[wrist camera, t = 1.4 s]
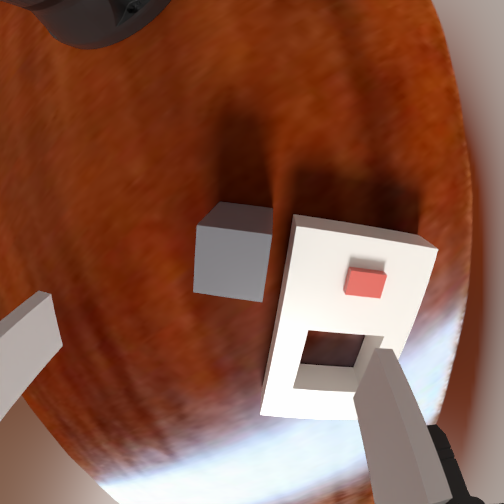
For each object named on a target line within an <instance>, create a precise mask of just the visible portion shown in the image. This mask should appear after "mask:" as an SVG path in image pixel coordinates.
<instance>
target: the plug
mask: <svg viewBox="0 0 504 504" xmlns="http://www.w3.org/2000/svg"><path fill="white" fill-rule="evenodd" d="M272 225H273V208H268V207H260V206H253V205H245V204H237V203H228V202H219V203H218V204H217V205H216V206H215V207H214V208H213V209H212V210H211V211H210V212H209V213H208V214H207V215H206V216H205V217H204V218H203V219H202V220H201V221H200V222H199V223H198V225H197V232H196V248H195V267H194V290H193V292H196V293H203V294H209V295H216V296H222V297H229V298H236V299H243V300H250V301H258V302H262V300H263V294H264V287H265V281H266V274H267V267H268V260H269V253H270V246H271V240H272Z"/></svg>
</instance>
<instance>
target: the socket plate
mask: <svg viewBox="0 0 504 504" xmlns="http://www.w3.org/2000/svg"><path fill="white" fill-rule="evenodd" d="M437 252H438V249H437V248H436V247H435V246H433V245H432V244H431V243H429V242H428V241H426V240H425V239H424V238H422V237H421V236H419V235H416V234H411V233H405V232H400V231H394V230H389V229H383V228H377V227H372V226H366V225H360V224H354V223H348V222H342V221H335V220H329V219H323V218H316V217H310V216H303V215H296V214H293V219H292V226H291V232H290V238H289V244H288V250H287V256H286V262H285V268H284V274H283V280H282V286H281V292H280V297H279V303H278V308H277V314H276V319H275V325H274V330H273V335H272V341H271V346H270V351H269V356H268V361H267V366H266V371H265V376H264V381H263V386H262V395H261V409H260V415H267V416H278V417H290V418H305V419H328V420H358V417H357V413H356V409H355V405H354V400H353V397H354V395H355V392H356V390H357V388H358V386H359V384H360V382H361V379H362V377H363V375H364V373H365V370H366V368H367V366H368V364H369V361H370V359H371V356H372V354H373V352H374V349H375V348H385V349H393V351H394V353H395V355H396V357H397V359H399V357H400V354H401V352H402V350H403V348H404V345H405V343H406V341H407V338H408V336H409V333H410V331H411V328H412V326H413V323H414V321H415V318H416V316H417V313H418V310H419V307H420V305H421V302H422V299H423V296H424V293H425V291H426V288H427V285H428V282H429V278H430V275H431V272H432V269H433V266H434V262H435V259H436V255H437ZM308 330H314V331H324V332H335V333H347V334H360V335H365V338H364V340H363V343H362V346H361V349H360V351H359V354H358V357H357V359H356V362H355V364H354V367H338V366H323V365H311V364H300V360H301V356H302V352H303V349H304V345H305V341H306V337H307V333H308Z"/></svg>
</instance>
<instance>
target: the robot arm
mask: <svg viewBox="0 0 504 504" xmlns="http://www.w3.org/2000/svg"><path fill="white" fill-rule="evenodd" d="M0 1H4V2H7V3H10V4H13V5H16V6H19V7H22V8H25V9H27V10H30V11H32V13H33V14H34V15H35V16H36V17H37V18H38V19H39V20H40V22H41V23H42V24H43V25H44V26H45V27H46V28H47V30H48V31H49V33H50V34H51V35H52V36H53V37H54V38H55V39H57V40H58V41H60V42H62V43H64V44H67V45H70V46H72V47H75V48H79V49H97V48H102V47H106V46H109V45H112V44H114V43H117V42H119V41H121V40H123V39H125V38H127V37H129V36H131V35H133V34H134V33H136V32H137V31H139V30H140V29H142V28H143V27H144V26H146V25H147V24H148V23H149V22H151V21H152V20H153V19H154V18H155V17H156V16H157V15H158V14H159V13H160V12H161V11H162V10H163V9H164V8H165V7H166V6H167V5H168V3H169V2H170V1H171V0H0ZM62 346H63V345H62V341H61V337H60V333H59V329H58V325H57V320H56V316H55V311H54V307H53V302H52V297H51V294H49V293H45V292H42V291H38V292H36V293H35V294H34V295H32V296H31V297H30V298H29V299H27V300H26V301H25V302H24V303H22V304H21V305H20V306H19V307H17V308H16V309H15V310H14V311H12V312H11V313H10V314H9V315H8V316H6V317H5V318H4V319H3V320H2V321H0V421H1V420H2V418H3V417H4V416H5V414H6V413H7V412H8V411H9V409H10V408H11V407H12V405H13V404H14V403H15V402H16V400H17V399H18V398H19V397H20V395H21V394H22V393H23V392H24V390H25V389H26V388H27V387H28V386H29V384H30V383H31V382H32V381H33V380H34V378H35V377H36V376H37V375H38V374H39V372H40V371H41V370H42V369H43V368H44V367H45V365H46V364H47V363H48V362H49V361H50V360H51V358H52V357H53V356H54V355H55V354H56V353H57V352H58V350H59V349H60V348H61V347H62ZM353 400H354V405H355V409H356V413H357V417H358V422H359V426H360V431H361V435H362V440H363V445H364V449H365V454H366V459H367V464H368V469H369V474H370V480H371V485H372V490H373V496H374V502H375V504H485V503H484V502H483V501H482V500H481V499H479V498H477V497H472V496H470V494H469V492H468V490H467V487H466V485H465V482H464V479H463V477H462V474H461V471H460V469H459V466H458V463H457V461H456V459H454V453H453V451H452V449H450V447H451V446H450V444H449V441H448V439H447V437H446V434H445V433H444V432H443V431H442V430H441V429H440V428H439V427H438V426H437V425H436V424H435V425H427V426H426V423H425V421H424V418H423V416H422V413H421V411H420V409H419V406H418V404H417V402H416V399H415V397H414V395H413V392H412V390H411V388H410V386H409V383H408V381H407V379H406V377H405V375H404V372H403V370H402V368H401V366H400V364H399V362H398V359H397V357H396V355H395V353H394V351H393V349H385V348H375V349H374V352H373V354H372V356H371V359H370V361H369V364H368V366H367V368H366V370H365V373H364V375H363V377H362V379H361V382H360V384H359V386H358V388H357V390H356V392H355V395H354V397H353ZM501 504H504V503H501Z"/></svg>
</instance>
